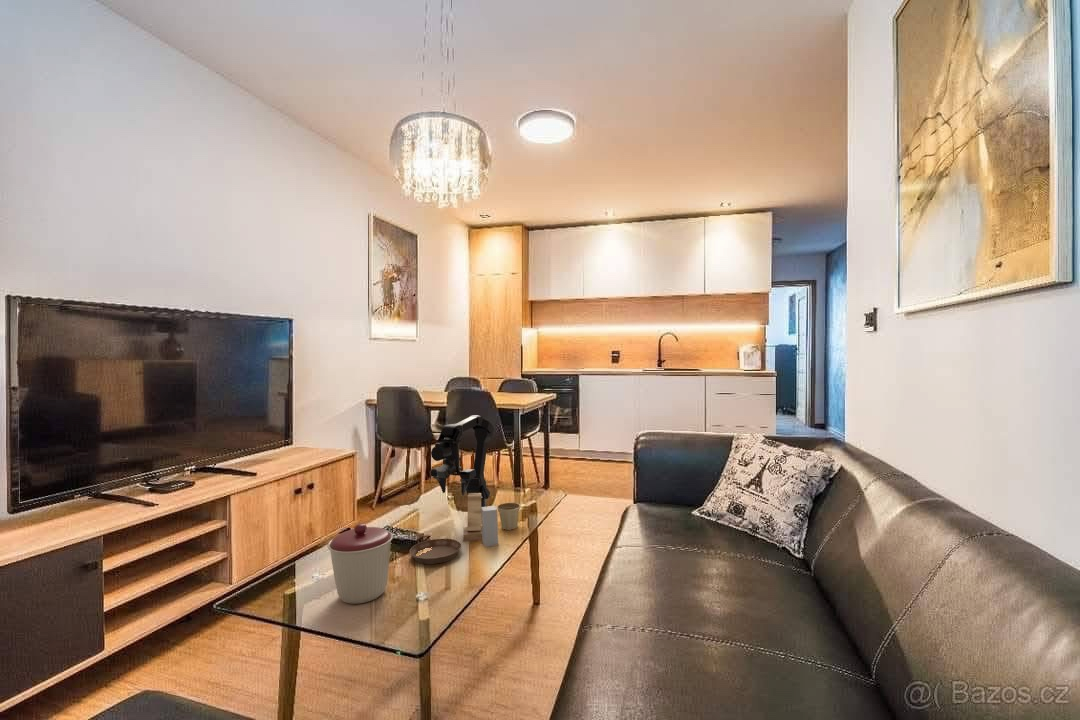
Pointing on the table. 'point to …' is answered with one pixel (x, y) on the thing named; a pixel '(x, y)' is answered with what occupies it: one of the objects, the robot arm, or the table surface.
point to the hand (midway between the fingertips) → (453, 493)
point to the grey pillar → (489, 526)
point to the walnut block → (471, 535)
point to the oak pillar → (474, 512)
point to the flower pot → (509, 515)
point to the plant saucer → (436, 550)
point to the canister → (361, 563)
